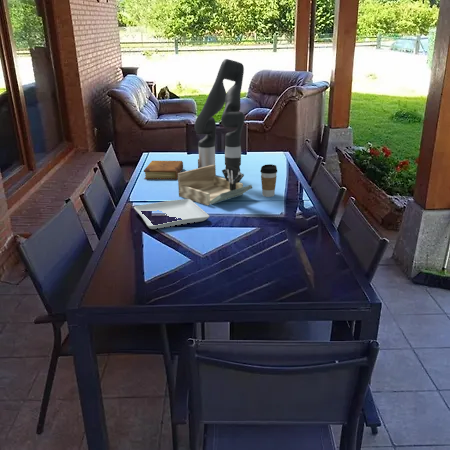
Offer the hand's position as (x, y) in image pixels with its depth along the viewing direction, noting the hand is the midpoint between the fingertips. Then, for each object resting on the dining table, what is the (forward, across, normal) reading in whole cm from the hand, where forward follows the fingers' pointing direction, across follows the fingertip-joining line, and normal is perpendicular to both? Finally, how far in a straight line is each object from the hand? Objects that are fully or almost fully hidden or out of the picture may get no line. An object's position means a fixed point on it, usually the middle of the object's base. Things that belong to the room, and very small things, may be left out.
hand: (232, 190), depth 238 cm
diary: (+8, -66, +10) cm, 68 cm away
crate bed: (+6, -15, 0) cm, 16 cm away
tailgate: (+6, -5, 0) cm, 7 cm away
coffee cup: (+6, +5, +20) cm, 22 cm away
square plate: (+6, -5, -34) cm, 35 cm away
